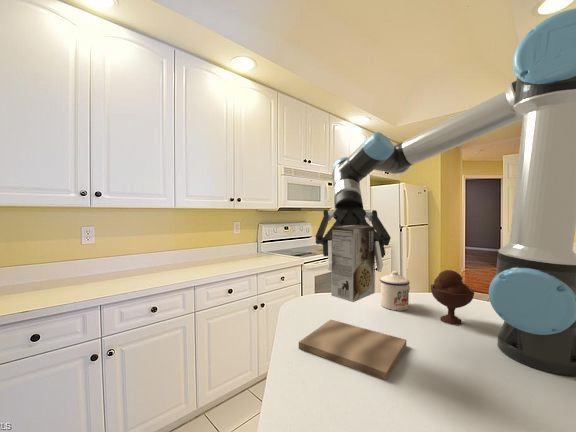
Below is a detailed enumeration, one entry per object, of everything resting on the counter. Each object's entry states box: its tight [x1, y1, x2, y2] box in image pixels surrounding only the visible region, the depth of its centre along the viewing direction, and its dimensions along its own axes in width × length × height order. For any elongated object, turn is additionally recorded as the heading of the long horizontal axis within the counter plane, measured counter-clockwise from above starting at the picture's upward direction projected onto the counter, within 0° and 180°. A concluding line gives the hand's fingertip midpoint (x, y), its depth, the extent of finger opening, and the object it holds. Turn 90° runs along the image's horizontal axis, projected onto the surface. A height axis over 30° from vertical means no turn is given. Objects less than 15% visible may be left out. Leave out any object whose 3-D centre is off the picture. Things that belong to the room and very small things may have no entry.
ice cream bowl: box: [430, 269, 475, 326], centre depth 79 cm, size 11×11×15 cm
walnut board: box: [298, 319, 407, 381], centre depth 64 cm, size 20×16×2 cm
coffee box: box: [330, 225, 376, 303], centre depth 64 cm, size 9×6×16 cm
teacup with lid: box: [379, 270, 410, 312], centre depth 92 cm, size 12×9×12 cm
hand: (355, 267), depth 61 cm, fingers closed on coffee box, 10 cm apart
